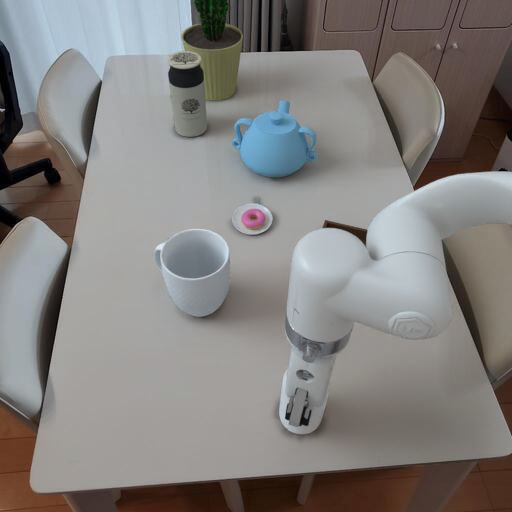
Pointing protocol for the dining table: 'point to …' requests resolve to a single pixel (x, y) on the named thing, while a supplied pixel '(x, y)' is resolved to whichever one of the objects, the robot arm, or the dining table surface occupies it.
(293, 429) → the can
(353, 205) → the dining table surface
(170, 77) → the travel mug
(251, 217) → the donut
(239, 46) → the potted cactus
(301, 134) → the teapot
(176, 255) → the mug
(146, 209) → the dining table surface
